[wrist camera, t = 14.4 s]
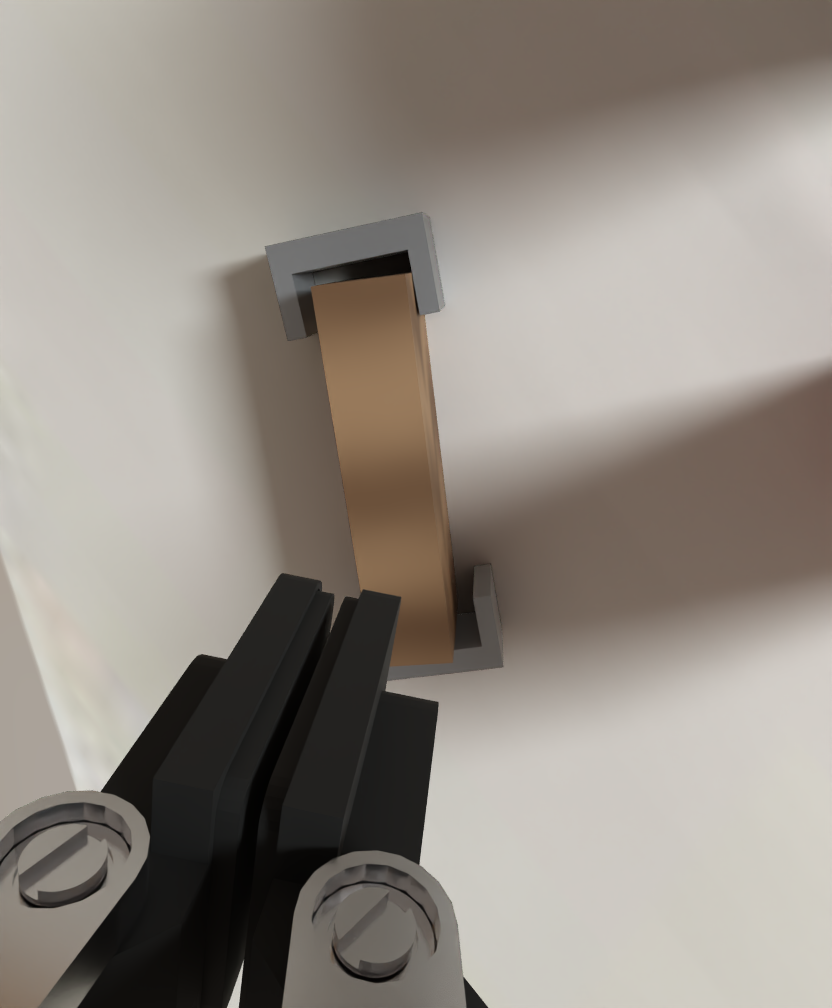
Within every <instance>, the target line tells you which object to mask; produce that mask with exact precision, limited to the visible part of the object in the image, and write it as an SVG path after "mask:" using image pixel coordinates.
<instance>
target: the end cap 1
mask: <svg viewBox="0 0 832 1008" xmlns="http://www.w3.org/2000/svg"><path fill="white" fill-rule="evenodd" d="M265 249H266V254H267V258H268V262H269V266H270V270H271V274H272V278H273V282H274V286H275V290H276V294H277V299H278V303H279V307H280V311H281V315H282V319H283V323H284V327H285V331H286V335H287V339H288V341H291V340H296V339H302V338H307V337H309V336H311V335H313V334H316V333H318V329H317V322H316V316H315V310H314V304H313V298H312V292H311V286H315V282H314V278H313V273H312V272H314V271H319V270H324V269H329V268H333V267H338V266H343V265H348V264H353V263H357V262H362V261H367V260H372V259H377V258H381V257H386V256H391V255H396V254H400V253H405V252H408V254H409V259H410V265H411V270H412V275H413V281H414V286H415V291H416V297H417V302H418V307H419V313H420V315H425V314H430V313H435V312H440V311H441V310H442V309H443V307H444V306H445V302H444V297H443V291H442V285H441V280H440V274H439V268H438V263H437V257H436V251H435V246H434V240H433V234H432V229H431V223H430V217H429V216H427V215H426V214H424V213H422V212H421V213H417V214H412V215H407V216H403V217H398V218H394V219H389V220H384V221H380V222H375V223H370V224H366V225H361V226H357V227H352V228H347V229H343V230H338V231H334V232H329V233H324V234H320V235H315V236H311V237H306V238H301V239H297V240H292V241H288V242H283V243H278V244H274V245H269V246H265Z"/></svg>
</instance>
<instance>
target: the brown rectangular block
mask: <svg viewBox="0 0 832 1008" xmlns="http://www.w3.org/2000/svg"><path fill="white" fill-rule="evenodd" d="M311 292H312V298H313V304H314V310H315V316H316V322H317V329H318V335H319V341H320V347H321V353H322V359H323V365H324V371H325V377H326V384H327V390H328V396H329V402H330V408H331V414H332V420H333V426H334V433H335V439H336V445H337V451H338V457H339V463H340V469H341V475H342V481H343V488H344V494H345V500H346V506H347V512H348V518H349V524H350V530H351V537H352V543H353V549H354V555H355V561H356V567H357V573H358V579H359V585H360V592H362V590H363V589H365V590H370V591H375V592H380V593H385V594H390V595H395V596H400V597H401V605H400V611H399V616H398V622H397V627H396V633H395V639H394V644H393V650H392V655H391V661H390V667H393V666H410V665H427V664H444V663H453V656H454V644H455V633H456V621H457V609H458V596H457V588H456V579H455V571H454V562H453V553H452V545H451V536H450V528H449V519H448V511H447V502H446V493H445V485H444V476H443V468H442V459H441V451H440V442H439V433H438V425H437V416H436V408H435V399H434V391H433V382H432V374H431V365H430V356H429V348H428V339H427V331H426V322H425V315H420V313H419V307H418V302H417V297H416V291H415V286H414V281H413V275H412V272H407V273H399V274H391V275H384V276H376V277H368V278H361V279H353V280H345V281H339V282H333V283H328V284H322V285H317V286H311Z"/></svg>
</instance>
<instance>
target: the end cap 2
mask: <svg viewBox="0 0 832 1008" xmlns="http://www.w3.org/2000/svg"><path fill="white" fill-rule="evenodd" d="M473 601H474V606H475V612H472V613H464V614H457V621H456V633H455V644H454V656H453V663H444V664H427V665H410V666H393V667H389V672H388V678H387V681H390V680H398V679H407V678H415V677H424V676H433V675H441V674H450V673H458V672H467V671H475V670H484V669H492V668H501V667H503V639H502V626H501V620H500V615H499V609H498V603H497V598H496V592H495V586H494V581H493V575H492V569H491V564H486V565H479V566H474V586H473Z"/></svg>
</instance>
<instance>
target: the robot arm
mask: <svg viewBox="0 0 832 1008" xmlns="http://www.w3.org/2000/svg"><path fill="white" fill-rule="evenodd" d="M400 605H401V597H400V596H395V595H390V594H385V593H380V592H375V591H370V590H365V589H363V590H362V592H361V595H360V597H359V599H356V598H351V597H345V598H344V601H343V603H342V605H341V608H340V610H339V613H338V615H337V618H336V620H335V623H334V625H333V627H332V630H331V632H330V628H331V620H332V613H333V606H334V594H331V593H326V592H322V582H321V581H319V580H314V579H309V578H304V577H299V576H294V575H289V574H284V573H282V574H281V575H280V576H279V577H278V579H277V580H276V582H275V584H274V585H273V587H272V588H271V590H270V592H269V593H268V595H267V596H266V598H265V600H264V601H263V603H262V604H261V606H260V608H259V609H258V611H257V612H256V614H255V616H254V617H253V619H252V620H251V622H250V624H249V625H248V627H247V628H246V630H245V632H244V633H243V635H242V637H241V638H240V640H239V641H238V643H237V645H236V646H235V648H234V649H233V651H232V653H231V654H230V656H229V657H228V659H223V658H218V657H213V656H208V655H203V654H201V655H199V656H197V657H196V658H195V659H194V660H193V661H192V662H191V664H190V665H189V667H188V668H187V669H186V671H185V672H184V674H183V675H182V677H181V678H180V679H179V681H178V682H177V684H176V685H175V686H174V688H173V689H172V691H171V692H170V694H169V695H168V696H167V698H166V699H165V701H164V702H163V704H162V705H161V706H160V708H159V709H158V711H157V712H156V714H155V715H154V716H153V718H152V719H151V721H150V722H149V724H148V725H147V726H146V728H145V729H144V731H143V732H142V734H141V735H140V736H139V738H138V739H137V741H136V742H135V743H134V745H133V746H132V748H131V749H130V751H129V752H128V753H127V755H126V756H125V758H124V759H123V761H122V762H121V763H120V765H119V766H118V768H117V769H116V771H115V772H114V773H113V775H112V776H111V778H110V779H109V781H108V782H107V783H106V785H105V786H104V788H103V789H102V790H101V792H98V791H93V790H92V791H67V792H63V793H59V794H54V795H50V796H46V797H42V798H40V799H38V800H36V801H33V802H31V803H29V804H27V805H24V806H23V807H20V808H18V809H16V810H15V811H13V812H12V813H11V814H9V815H8V816H7V817H5V818H4V819H3V820H1V821H0V1008H227V1006H228V1003H229V1001H230V998H231V995H232V992H233V989H234V986H235V983H236V981H237V978H238V975H239V972H240V969H241V966H242V963H243V960H244V965H243V974H242V984H241V993H240V1002H239V1008H488V1007H487V1006H486V1004H485V1003H484V1002H483V1001H482V999H481V998H480V997H479V996H478V994H477V993H476V992H475V991H474V989H473V988H472V987H471V986H470V984H469V983H468V982H467V980H466V979H465V978H464V977H463V971H462V961H461V951H460V942H459V932H458V924H457V920H456V917H455V913H454V909H453V905H452V902H451V900H450V899H449V897H448V896H447V894H446V892H445V891H444V889H443V888H442V886H441V884H440V883H439V882H438V881H437V880H436V879H435V878H434V877H433V876H432V875H431V874H429V873H428V872H427V871H426V870H425V869H424V868H423V867H422V866H420V865H419V863H420V854H421V846H422V838H423V830H424V822H425V813H426V805H427V797H428V789H429V780H430V772H431V764H432V756H433V748H434V739H435V731H436V723H437V715H438V702H435V701H430V700H425V699H420V698H416V697H411V696H406V695H401V694H396V693H391V692H386V691H385V689H386V684H387V678H388V672H389V667H390V661H391V655H392V650H393V644H394V639H395V633H396V627H397V622H398V616H399V611H400Z"/></svg>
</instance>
